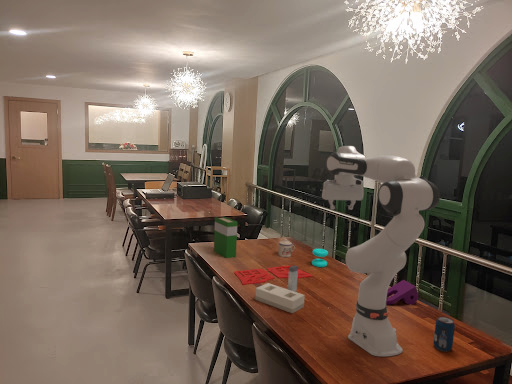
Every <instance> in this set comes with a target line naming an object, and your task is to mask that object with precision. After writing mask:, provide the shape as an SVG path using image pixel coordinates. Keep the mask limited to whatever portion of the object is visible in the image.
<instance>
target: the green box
mask: <svg viewBox="0 0 512 384" xmlns="http://www.w3.org/2000/svg"><path fill="white" fill-rule="evenodd" d="M213 233H214V234H213V235H214V237H213V252H215V253H216V254H218V255H220V256H221V257H223V258H225V259H231V258H236V257H237V239H238V221H237V220H234V219H231V218H230V217H226V216H222V217H217V216H216V217H214V232H213Z"/></svg>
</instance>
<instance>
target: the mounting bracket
mask: <svg viewBox="0 0 512 384" xmlns="http://www.w3.org/2000/svg"><path fill="white" fill-rule="evenodd" d="M400 300H402V301H403V302H404V303H405V304H407V305H410V304H411V305H415V304H416V303H417V301H418V300H419V292H418V289H417V286H416V285H414V284H412V283H410V282H409V281H407V280H405V279H402V280H401V281H400V282H398V283H396V284H394V285H391V287H390V286H389V288H388V292H387V298H386V306H387V305H392V304H396V303H397V302H398V301H400Z"/></svg>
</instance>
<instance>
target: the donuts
mask: <svg viewBox="0 0 512 384" xmlns="http://www.w3.org/2000/svg"><path fill="white" fill-rule="evenodd" d="M312 254H313V255H314V256H316V257H317V258H313V259H312V260H311V264H312V266H314V267H317V268H325V267H327V266H328V261H327V260H326V259H323V257H327V256H328V254H329V251H328V250H326V249H324V248H314V249H313V250H312ZM318 257H319V258H318Z"/></svg>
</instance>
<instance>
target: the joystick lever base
mask: <svg viewBox="0 0 512 384" xmlns="http://www.w3.org/2000/svg"><path fill="white" fill-rule="evenodd" d="M305 296H306V295H305V294H302V293H300V292H297V291H296V292H294V291H291V290H288V288H285V287H282V286H278V285H275V284H272V283H269V282H267V283H264V284H263V285H262V284H261V285H260V286H258V287H255V301H258V302H260V303H263V304H266V305H269V306H271V307H274V308H277V309H280V310H282V311H285V312H287V313H290V314H294V313H296V312H297V311H299V310H301V309H304V308H305Z"/></svg>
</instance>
